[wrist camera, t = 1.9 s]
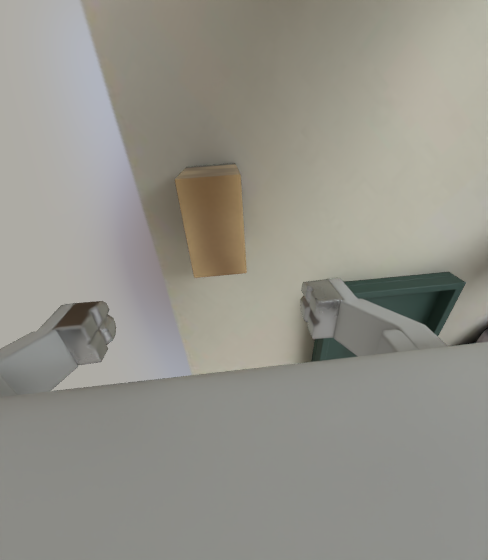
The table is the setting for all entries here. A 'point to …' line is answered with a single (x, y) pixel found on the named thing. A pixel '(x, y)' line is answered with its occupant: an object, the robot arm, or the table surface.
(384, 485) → the robot arm
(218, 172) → the tan brown block
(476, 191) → the table surface
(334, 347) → the tray
